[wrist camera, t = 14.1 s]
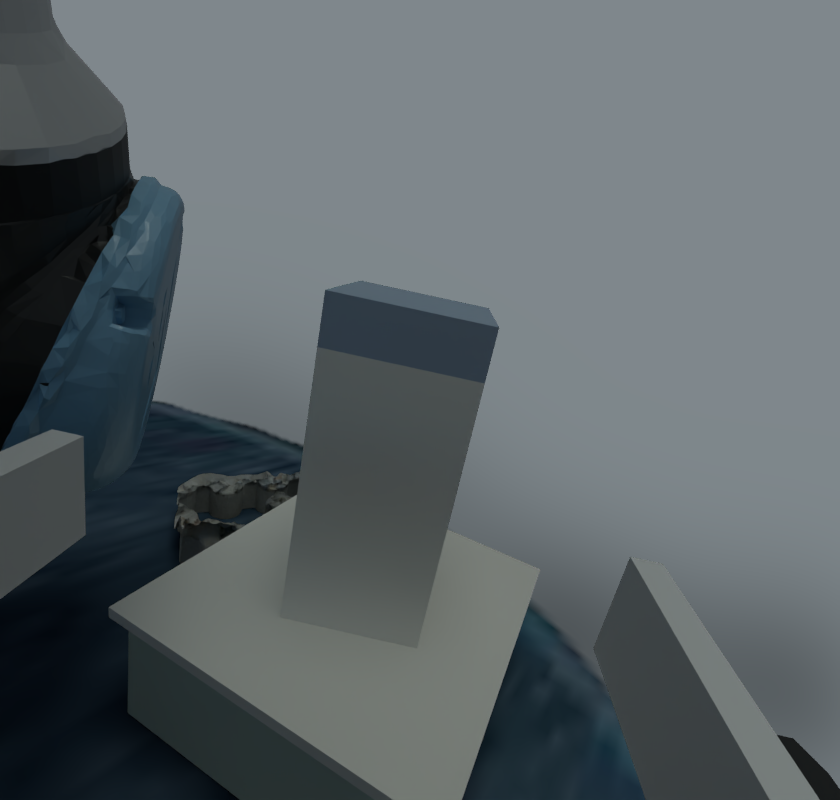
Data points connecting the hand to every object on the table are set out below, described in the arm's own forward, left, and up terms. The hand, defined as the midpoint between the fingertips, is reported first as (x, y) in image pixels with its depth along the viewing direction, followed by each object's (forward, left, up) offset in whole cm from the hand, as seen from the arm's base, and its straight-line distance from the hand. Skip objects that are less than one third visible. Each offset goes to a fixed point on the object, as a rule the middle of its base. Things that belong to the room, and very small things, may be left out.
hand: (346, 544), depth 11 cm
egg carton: (-15, +15, -15) cm, 27 cm away
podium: (-3, +9, -15) cm, 18 cm away
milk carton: (-3, +9, -9) cm, 13 cm away
